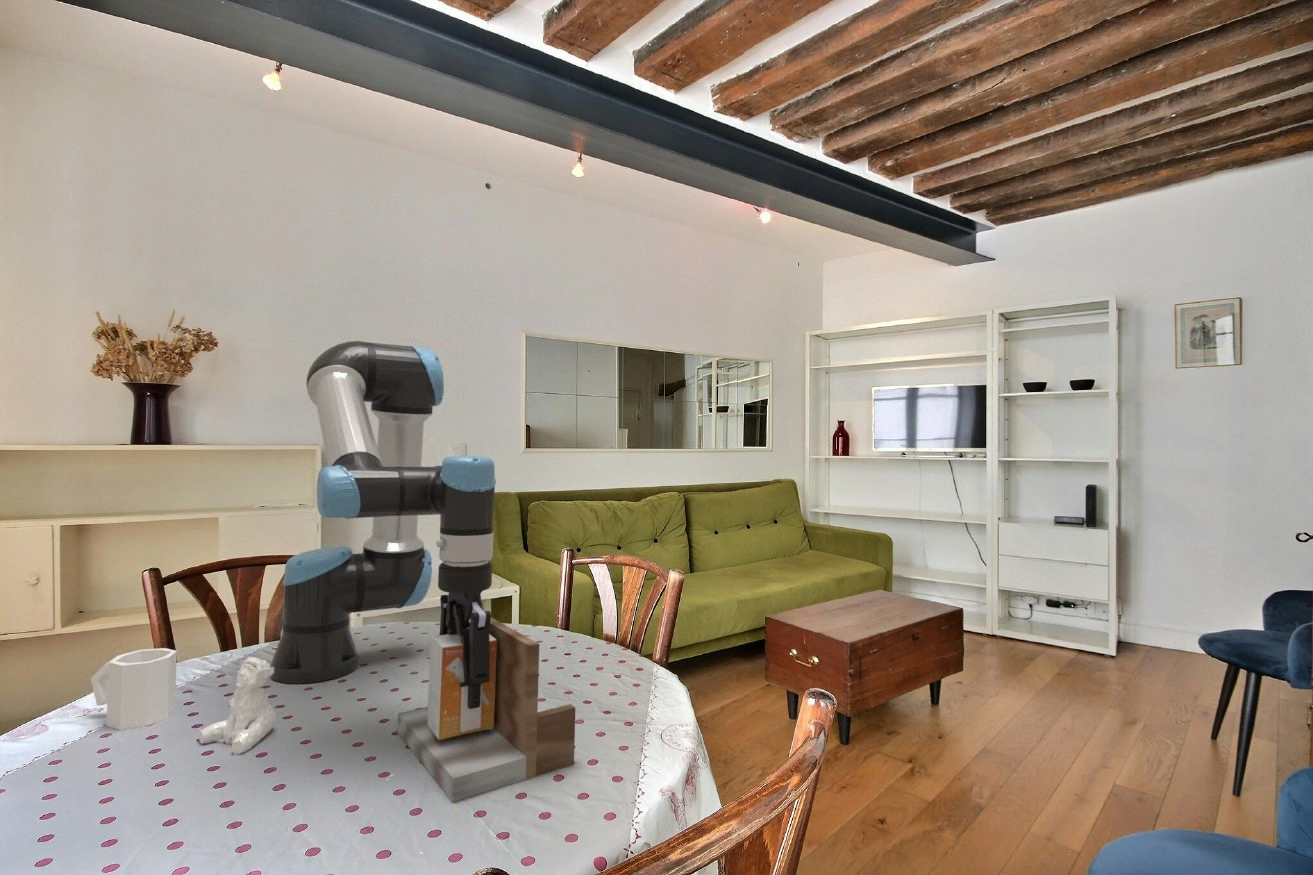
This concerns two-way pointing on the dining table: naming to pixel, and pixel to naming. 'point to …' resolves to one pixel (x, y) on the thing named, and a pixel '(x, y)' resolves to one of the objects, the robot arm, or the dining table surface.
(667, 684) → the dining table surface
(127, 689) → the mug
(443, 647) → the small box
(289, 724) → the dining table surface
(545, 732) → the wall board
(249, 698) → the sitting furry creature
